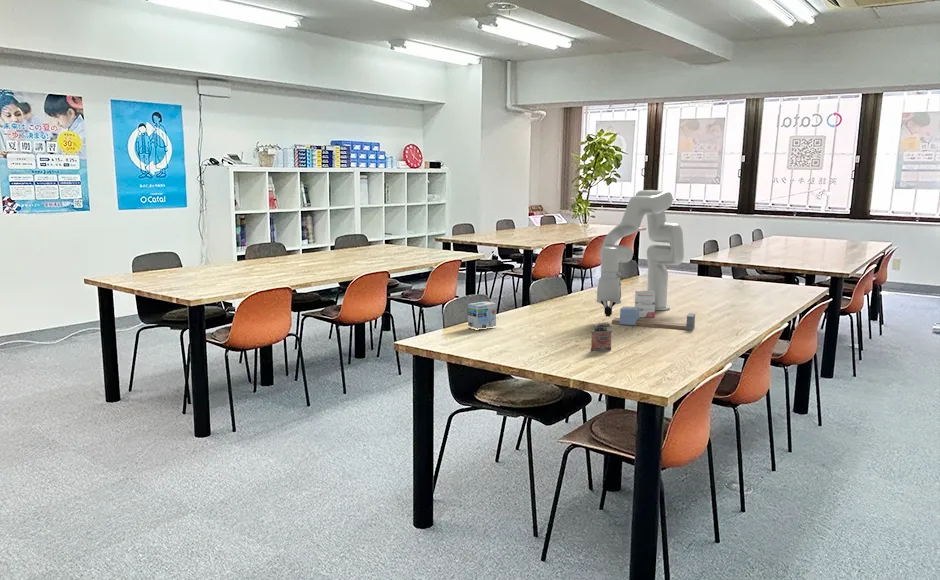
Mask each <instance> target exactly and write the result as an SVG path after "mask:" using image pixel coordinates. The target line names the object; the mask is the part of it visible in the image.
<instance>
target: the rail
mask: <svg viewBox="0 0 940 580" xmlns="http://www.w3.org/2000/svg"><path fill="white" fill-rule="evenodd" d="M619 322H620V317H614V318H613V319H612V320H611V324H617V325H620V324H619ZM695 322H696V313H695V312H689V313H688V314H687V315H686V322H685V323H684V322H674V321H672V322H671V321H662V320H661V321H660V320H649V319H648V320H646V319H639V320H637V321H636V325H635V326H636V327H637V326H638V327H649V328H650V327H651V328H662V329H675V330H685V331H691V332H692V331H693V330H694V329H695V325H696V324H695ZM624 325H627V324H624ZM627 326H628V325H627Z"/></svg>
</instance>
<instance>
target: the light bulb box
mask: <svg viewBox="0 0 940 580" xmlns="http://www.w3.org/2000/svg"><path fill="white" fill-rule="evenodd" d="M468 326H470V327H474V328H477V329H478V328H486V327H493V326H496V327H497V303H496V302H492V301H488V300H487V301H486V300H485V301H480V302H479V301H478V302H472V303H468V304H467V327H468Z"/></svg>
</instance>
